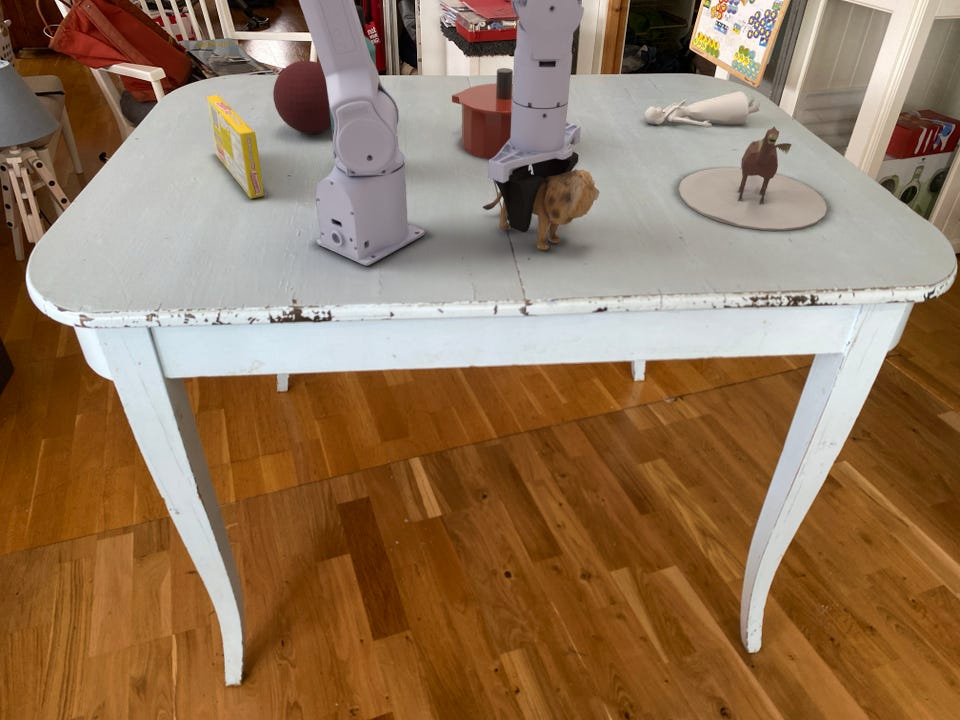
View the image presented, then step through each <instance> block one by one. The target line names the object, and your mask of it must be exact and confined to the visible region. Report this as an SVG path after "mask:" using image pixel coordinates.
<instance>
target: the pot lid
mask: <svg viewBox="0 0 960 720" xmlns="http://www.w3.org/2000/svg"><path fill="white" fill-rule="evenodd" d="M495 82H496V83H484V84H478V85H473V86H470V87H468V88H466V89H464V90H462V91H460V92H461V93H460V92H459V93H460V95H459V102H460V104H459V105H461V107H462V106H464V107H465V108H467V109H469V110H472V111H475V112H479V113H484V114H490V115H502V116H511V114H512V92H513V69H512V68H508V67H500V68H497V70H496V81H495Z"/></svg>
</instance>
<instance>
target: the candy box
mask: <svg viewBox="0 0 960 720" xmlns="http://www.w3.org/2000/svg"><path fill="white" fill-rule="evenodd" d="M206 102H207V109H208V115H209V119H210V125H211V131H212V136H213V143H214V147H215V154H216V157H217V158H218V159H219V160H220V162H221V163H222V164H223V165H224V167H225V168H226V169H227V170H228V172H229V173H230V175H231V176H232V177H233V178H234V180H235V181H236V182H237V183H238V185H239V186H240V187H241V189H242V190H244V192H245V193H246V195H247V196H248V197H249V199H251V200H253V199H256V198H257V199H258V198H261V197H264V195H265V194H264V186H263V184H264V183H263V177H262V170H261V169H262V168H261V163H260V155H259V148H258V142H257V136H256V132H255V131H254V130H253V129H252V128H251V127H250V126H249V125H248V124H247V122H245V121H244V119H242V117H241V116H240V115H238V114H237V113H236V111H235V110H234V109H232V108H231V106H230V105H229V104H228V103H227V102H226V101H225V100H224V99H223V98H222V97H221V96H220V95H219V94H215V95H207V96H206Z"/></svg>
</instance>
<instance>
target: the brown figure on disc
mask: <svg viewBox="0 0 960 720" xmlns="http://www.w3.org/2000/svg"><path fill="white" fill-rule="evenodd" d="M779 135H780V131H779V130H778V129H777V128H776V126H773V127H772V128H770V129H767V131H766V133H765V135H764V137H763V138H762V139H759V140H756V141H754V140H753V141H752V142H750V143H749V145H748V146H747V148H746V150H745V152H744V153H743V155H742V158H741V163H740V167H715V168H709V169H701V170H699V171H695V172H694V173H691V174H688V175H687V176H686V177H684V178H683V179H682V180H681V182H680V184H679V186H678V194H679V197H680V199H681V200H682V201H683V202H684V204H686V205H687V206H688V207H689V208H690V209H692V210H694V211H695V212H697V213H699V214H700V215H702V216H704V217H706V218H709V219H712V220H714V221H717V222H719V223H723V224H727V225H730V226H735V227H738V228H743V229H751V230H756V231H757V230H758V231H777V232H778V231H779V232H783V231H792V230H802V229H804V228H807V227H810V226H813V225H816V224H818V223H819V222H820V221H821V220H822V219H824V217H825V215H826V212H827V209H828V206H827V204H826V202H825V199H824V198H823V197H822V195H820V194H819V193H818V192H817V191H816V190H814V189H813V188H811V187H809V186H808V185H806V184H805V183H802V182H800V181H798V180H795V179H792V178H791V177H788V176H784V175H780V174H777V171H778V167H779V159H778V151H777V149H778V150H779V151H781V152H782V153H783V155H787V154H788V153H789V152H790V149H791V147H792V143H788V142H782V143H777V144H776V142H777V140H778V138H779Z"/></svg>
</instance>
